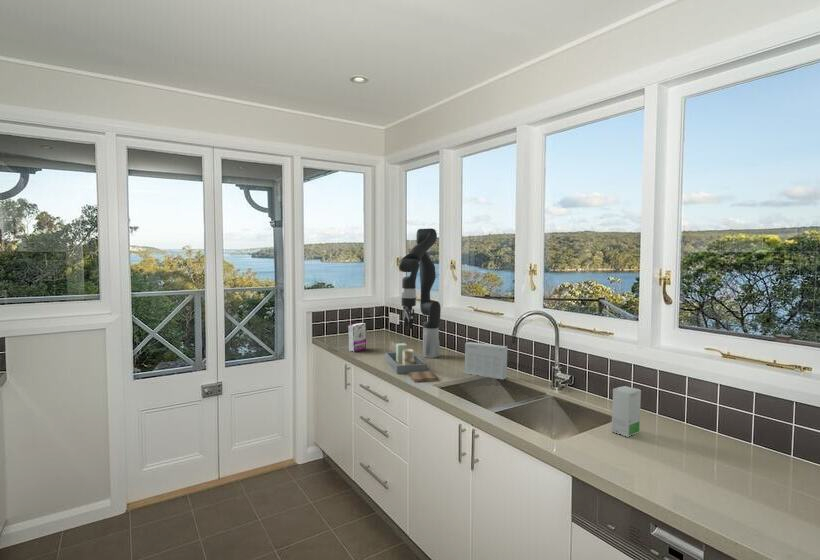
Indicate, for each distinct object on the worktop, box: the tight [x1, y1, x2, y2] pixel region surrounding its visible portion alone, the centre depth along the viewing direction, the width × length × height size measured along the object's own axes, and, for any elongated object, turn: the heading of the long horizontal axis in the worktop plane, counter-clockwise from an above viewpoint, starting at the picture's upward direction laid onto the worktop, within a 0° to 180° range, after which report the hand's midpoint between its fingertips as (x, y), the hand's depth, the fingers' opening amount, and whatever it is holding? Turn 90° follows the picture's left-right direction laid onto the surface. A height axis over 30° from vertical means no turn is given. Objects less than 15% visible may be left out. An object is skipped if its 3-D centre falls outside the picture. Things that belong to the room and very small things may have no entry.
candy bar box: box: [347, 322, 367, 353], centre depth 284 cm, size 11×5×16 cm, turn 143°
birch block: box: [401, 348, 415, 365], centre depth 242 cm, size 5×5×10 cm
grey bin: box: [384, 351, 428, 374], centre depth 249 cm, size 16×30×4 cm, turn 15°
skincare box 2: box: [610, 385, 642, 438], centre depth 161 cm, size 8×7×16 cm
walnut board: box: [407, 370, 439, 383], centre depth 226 cm, size 12×12×2 cm
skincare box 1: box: [464, 341, 508, 381], centre depth 231 cm, size 21×5×16 cm, turn 59°
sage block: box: [395, 342, 408, 364], centre depth 257 cm, size 5×5×10 cm
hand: (408, 327), depth 241 cm, fingers open, 8 cm apart
